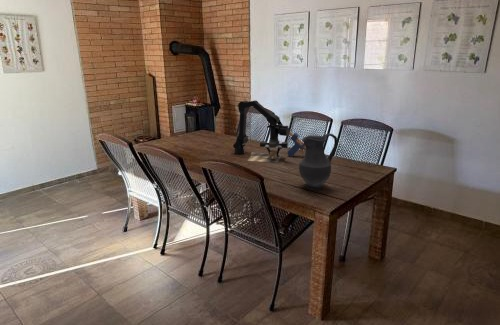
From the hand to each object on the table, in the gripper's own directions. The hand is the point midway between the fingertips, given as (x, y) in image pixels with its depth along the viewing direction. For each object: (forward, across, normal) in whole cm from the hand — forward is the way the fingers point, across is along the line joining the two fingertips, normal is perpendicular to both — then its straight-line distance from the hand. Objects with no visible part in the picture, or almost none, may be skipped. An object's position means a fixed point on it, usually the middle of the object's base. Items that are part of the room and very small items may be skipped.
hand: (273, 156), depth 238 cm
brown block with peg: (+1, 0, -2) cm, 2 cm away
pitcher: (+3, +30, -44) cm, 54 cm away
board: (+3, -6, -2) cm, 7 cm away
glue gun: (+3, +20, +12) cm, 24 cm away
